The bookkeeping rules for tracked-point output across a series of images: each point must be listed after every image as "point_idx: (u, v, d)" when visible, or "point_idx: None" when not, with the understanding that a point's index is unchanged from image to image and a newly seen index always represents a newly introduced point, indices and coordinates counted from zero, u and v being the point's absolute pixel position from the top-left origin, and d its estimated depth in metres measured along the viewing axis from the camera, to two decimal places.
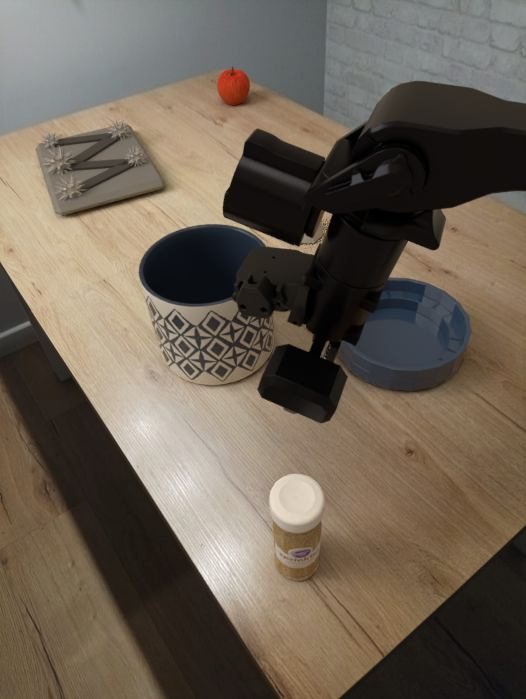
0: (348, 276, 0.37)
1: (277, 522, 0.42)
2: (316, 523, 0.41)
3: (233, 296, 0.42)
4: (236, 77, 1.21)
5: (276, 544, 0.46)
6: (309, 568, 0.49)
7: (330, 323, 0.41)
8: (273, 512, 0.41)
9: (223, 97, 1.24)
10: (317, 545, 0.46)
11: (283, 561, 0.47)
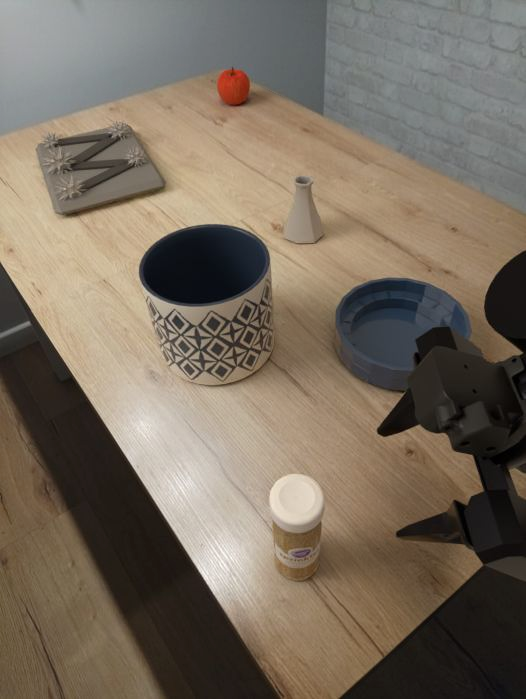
0: None
1: (277, 522, 0.42)
2: (316, 523, 0.41)
3: (446, 426, 0.30)
4: (236, 77, 1.21)
5: (276, 544, 0.46)
6: (309, 568, 0.49)
7: None
8: (273, 512, 0.41)
9: (223, 97, 1.24)
10: (317, 545, 0.46)
11: (283, 561, 0.47)
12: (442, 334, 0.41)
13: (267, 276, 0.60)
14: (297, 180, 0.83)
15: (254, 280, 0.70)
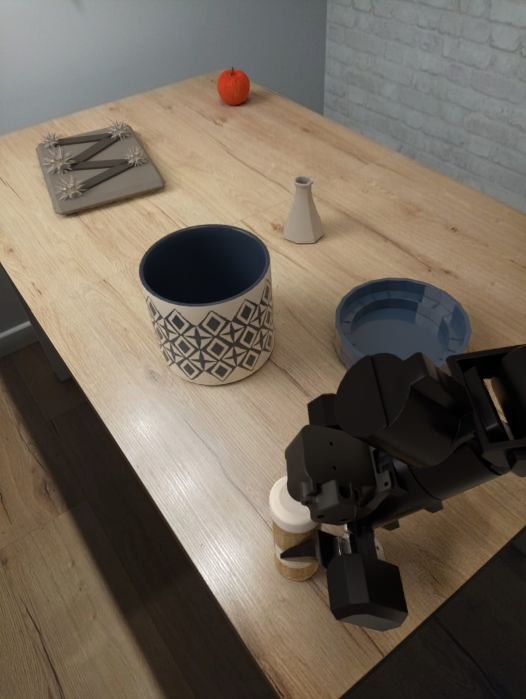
0: (445, 494, 0.36)
1: (277, 522, 0.42)
2: (316, 523, 0.41)
3: (305, 501, 0.35)
4: (236, 77, 1.21)
5: (276, 544, 0.46)
6: (309, 568, 0.49)
7: (387, 520, 0.39)
8: (273, 512, 0.41)
9: (223, 97, 1.24)
10: None
11: (283, 561, 0.47)
12: (328, 401, 0.46)
13: (267, 276, 0.60)
14: (297, 180, 0.83)
15: (254, 280, 0.70)
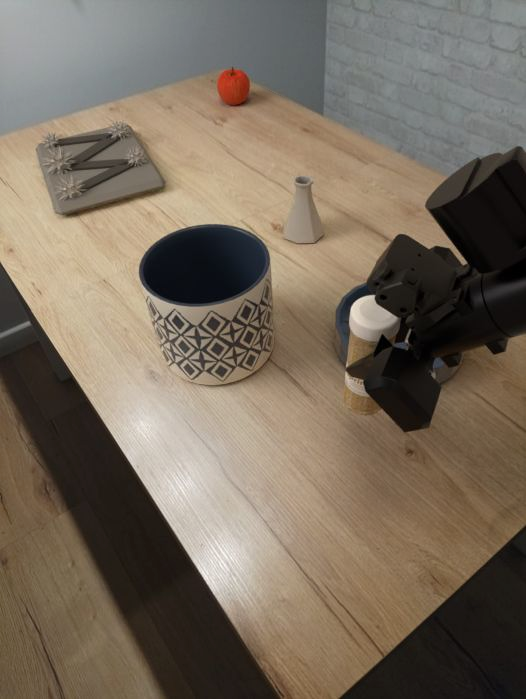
0: (505, 321, 0.38)
1: (351, 325, 0.47)
2: None
3: (375, 281, 0.40)
4: (236, 77, 1.21)
5: (347, 362, 0.51)
6: (369, 402, 0.53)
7: (447, 344, 0.42)
8: (350, 314, 0.47)
9: (223, 97, 1.24)
10: None
11: (348, 383, 0.52)
12: (439, 251, 0.49)
13: (267, 276, 0.60)
14: (297, 180, 0.83)
15: (254, 280, 0.70)
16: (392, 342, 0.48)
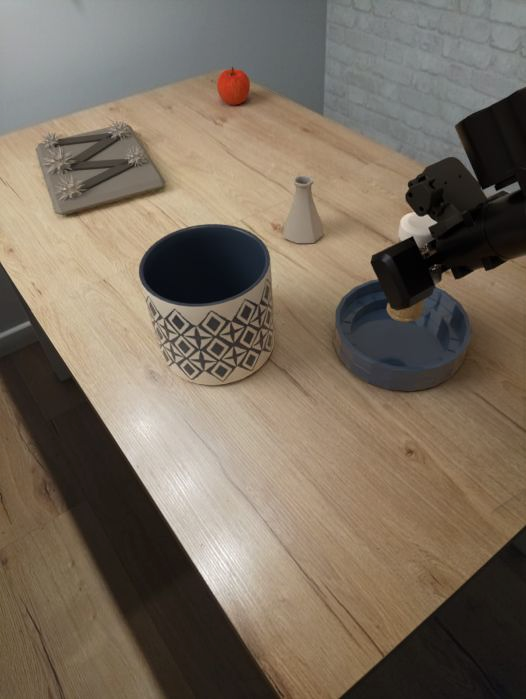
0: (493, 236, 0.46)
1: None
2: (417, 243, 0.56)
3: (410, 182, 0.50)
4: (236, 77, 1.21)
5: None
6: None
7: (453, 253, 0.50)
8: (401, 219, 0.57)
9: (223, 97, 1.24)
10: None
11: None
12: (501, 194, 0.55)
13: (267, 276, 0.60)
14: (297, 180, 0.83)
15: (254, 280, 0.70)
16: None
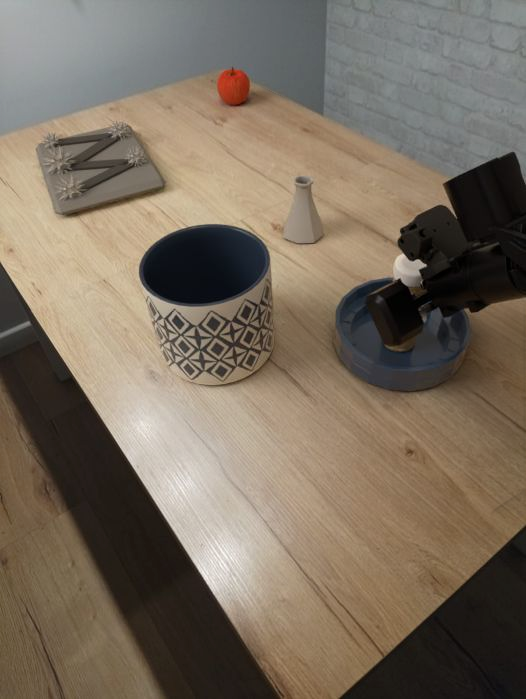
0: (477, 284, 0.50)
1: (393, 268, 0.61)
2: (410, 283, 0.60)
3: (402, 228, 0.54)
4: (236, 77, 1.21)
5: None
6: None
7: (441, 295, 0.55)
8: None
9: (223, 97, 1.24)
10: None
11: None
12: None
13: (267, 276, 0.60)
14: (297, 180, 0.83)
15: (254, 280, 0.70)
16: (420, 292, 0.61)
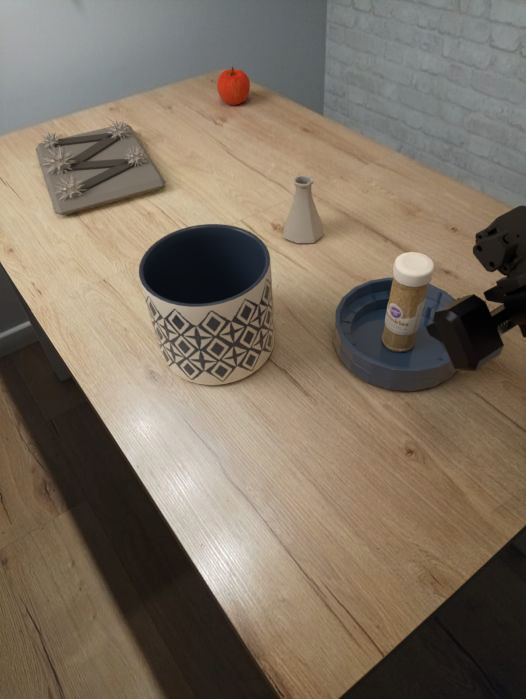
0: None
1: (393, 268, 0.61)
2: (410, 283, 0.60)
3: (479, 233, 0.46)
4: (236, 77, 1.21)
5: None
6: (396, 339, 0.67)
7: (524, 311, 0.46)
8: None
9: (223, 97, 1.24)
10: (407, 318, 0.64)
11: (385, 318, 0.67)
12: None
13: (267, 276, 0.60)
14: (297, 180, 0.83)
15: (254, 280, 0.70)
16: (420, 292, 0.61)
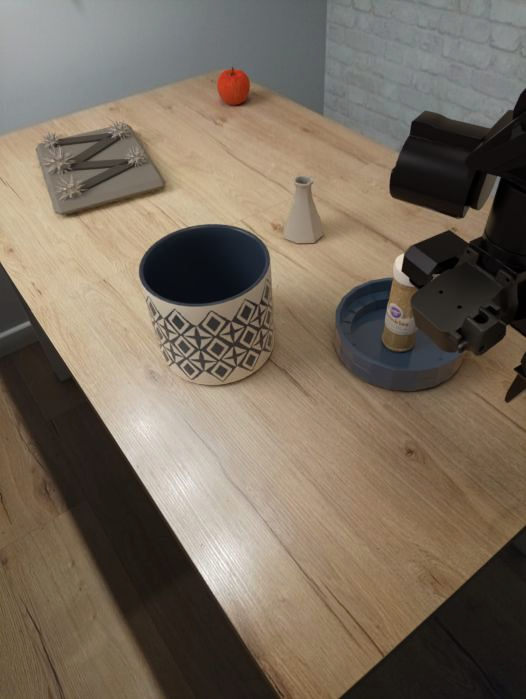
0: (514, 243, 0.37)
1: (393, 268, 0.61)
2: (410, 283, 0.60)
3: (460, 349, 0.38)
4: (236, 77, 1.21)
5: None
6: (396, 339, 0.67)
7: None
8: None
9: (223, 97, 1.24)
10: (407, 318, 0.64)
11: (385, 318, 0.67)
12: (413, 255, 0.47)
13: (267, 276, 0.60)
14: (297, 180, 0.83)
15: (254, 280, 0.70)
16: None
